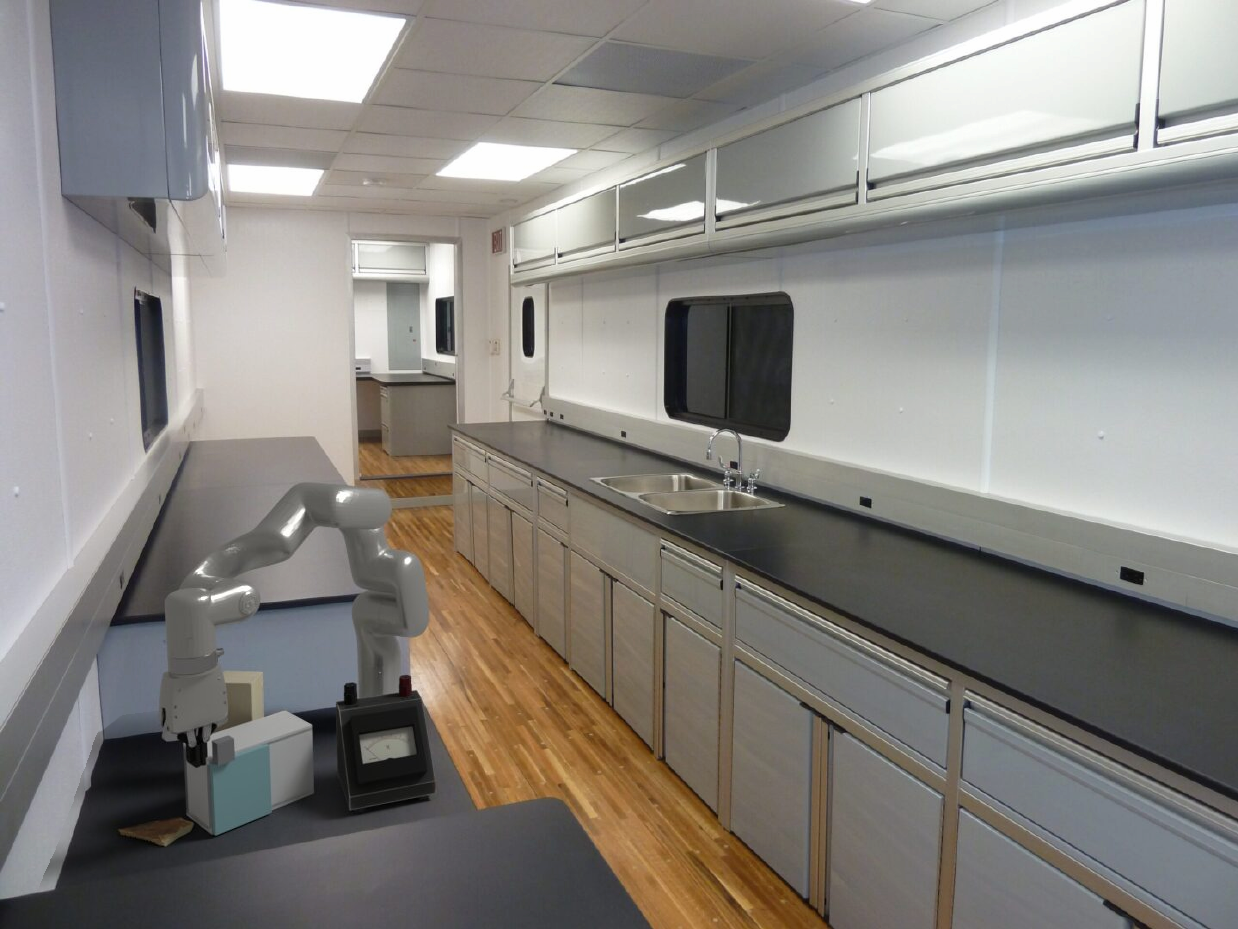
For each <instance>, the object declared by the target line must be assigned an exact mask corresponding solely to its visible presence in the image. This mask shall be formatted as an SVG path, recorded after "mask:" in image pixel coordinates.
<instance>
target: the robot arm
mask: <svg viewBox="0 0 1238 929" xmlns="http://www.w3.org/2000/svg"><path fill="white" fill-rule="evenodd" d="M392 508H393V507H392V501H391V497H390V495H388V494H387V492H386V491H385V490H382V488H381V489H380V488H375V487H367V486H366V487H364V486H354V485H345V484H335V483H334V484H333V483H323V482H322V483H320V482H311V481H310V482H309V481H307V482H306V481H305V482H300V483H299V482H298V483H297V484H295V485H293V486H291V488H289V489H288V491H287V492H285V494H283V496H282V497H280V500H278V502H277V503H275V505H274V506H273V507H272V509H270V511H269V512H268V513H267V514H266V516H264V518H262V520H260V522H259V523H258V524H257V525H256V526H255V527H254V528H253V529H251V530H250V531H248V532H246V533H244V534H241V535H239V536H237V537H235V538H233V539H231V540H230V541H227V542H225V543H223V544H221V545H220V546H218V547H216V548H215V549H212V551H210V552H209V553H207V554H206V555H205V556H204V557H203V558H202V559H201V560H200V561H199V562H198V563H197V564H196V565H195V566H194V567H193V568H192V570H191V571H190V572H188V574H187V575H186V577H185V578H184V580H182V582H181V584H180V586H179V589H177V590H175V591H172V592H170V593H169V594H168V595H167V596H166V597H165V600H164V615H165V636H166V637H165V638H166V653H167V654H166V656H167V671H165V672H163V673H162V677H161V681H160V688H159V699H158V723H159V726H160V727H161V728H163V729H162V734H161V739H162V740H163V741H166V742H176V741H180V742H182V744H183V743H185V744H186V760H187V762H188V763H190V764H191V765H192V766H194V767H195V768H198V767H200V766H204V765H206V758H207V757H208V749H207V742H208V741H209V740H210V736H211V735H212V734H213V732H214V731H215V729H216V728H217V727H220V726H221V725H223V724H225V723H226V722H227V721H228V718H227V714H228V699H227V691H226V685H225V680H224V675H223V672H224V671H223V669H222V666H221V664H220V663H219V658H220V657H221V656H225V649H224V648H223V647H220V648H218V647H217V638H216V637H217V634H216V633H217V632H216V629H217V628H219V627H224V626H229V625H230V626H231V625H236V624H240V623H243V622H246V621H248V620H249V619H251V618H252V617H253V616H254V615H255V614H256V613H257V611H258V609H259V608H260V604H261V595H260V594H261V593H260V591H259V590H258V588H257V586H255V585H254V584H252V583H251V582H249V581H246V580H241V579H234V578H236V577H238V576H240V575H243V573H246V572H250V571H253V570H257V569H261V568H267V567H270V566H271V567H272V566H274V565H278V564H280V563H283V562H285V561H288V560H289V559H290V558H291V557H293V555H294V554H295V553H296V552H297V551H298V549H299V548H300V546H301V545H302V544H303V543H304V542H305V540H306V539H307V538H308V537H309V536H310V534H312V532H313V531H314V530H315V529H316V528H317V527H323V528H333V529H338V530H339V531H340V533H341V534H342V537H343V539H344V543H345V548H346V553H347V558H348V563H349V567H350V568H349V569H350V573H351V578H352V581H353V583H354V584H355V586H357V587H358V588H360V589H362V590H363V589H364V590H365V591H363V592H361V593H359V594H358V595H357V596H356V598H354V601H353V603H352V606H351V618H352V623H353V628H354V632H355V638H356V650H357V652H356V653H357V654H356V656H357V699H358V698H365V697H372V696H378V695H385V694H392V693H399V677H400V676H402V659H401V658H402V657H401V656H402V654H401V653H402V652H401V646H400V643H399V640H398V637H401V638H409V639H411V638H412V639H413V638H417V637H419V636H421V635H423V634H424V632H426V630H427V628H428V626H429V621H430V604H429V603H430V602H429V596H428V589H427V584H426V577H425V572H424V567H423V564H422V562H421V560H420V558H419V557H418V556H417V555H416V554H415V553H412V552H411V551H408V550H401V549H392V548H390V546H389V545H388V543H387V538H386V535H385V534H386V533H385V531H384V527H383V526H385V524H387V523H388V521H389V519H390V518H391V514H392V510H393V509H392ZM195 730H196V732H195Z"/></svg>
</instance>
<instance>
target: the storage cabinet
mask: <svg viewBox="0 0 1238 929" xmlns="http://www.w3.org/2000/svg"><path fill="white" fill-rule="evenodd" d="M228 735H229V736H231V737H232V738H234V750H235V754H238V753H241V752H244V751H247V750H250V749H253V748H255V747H258V746H261V745H264V744H268V745H269V749H270V778H271V808H272V811H273V810H276V809H279V808H281V807H284V806H287V805H288V804H291V803H293V802H296V801H298V800H301V799H303V798H306V797H308V796H311V795H313V794H315V787H314V786H315V782H314V780H315V779H314V778H315V777H314V749H313V748H314V747H313V746H314V744H313V743H314V741H313V739H314V738H313V724H312V723H309V722H307V721H306V720H304V719H302V718H300V717H299V716H296V715H295V714H293V713H291V712H289V711H287V710H282V711H279V712H275V713H272V714H270V715H267V716H264V717H263V718H260V719H257V720H253V721H250V722H247V723H244V724H241V725H238V726H235V727H232V728H229V729H225V730H222V731H219V732H216V733H212V735H211V736H210V740H209V741H208V742H207V749H208V757H207V758H206V765H204V766H200V767H198V768H195V767H194V766H192V765H191V764H190V763H188V762H187V760H186V744H185V743H183V742H182V744H183V765H184V767H183V768H184V769H183V771H184V784H185V785H184V787H185V788H184V789H185V808H186V810H185V811H186V812H185V813H186V816H188V817H189V818H190V819H191V820H192V821H194V822H195V823H196V824H197V825H199V826H200V827H201V828H203V829H204V830H206V831H207V832H208V833H209V834H211V835H214V834H213V823H212V800H211V777H210V763H212V762H213V757H212V740H216V739H219V738H222V737H225V736H228Z"/></svg>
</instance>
